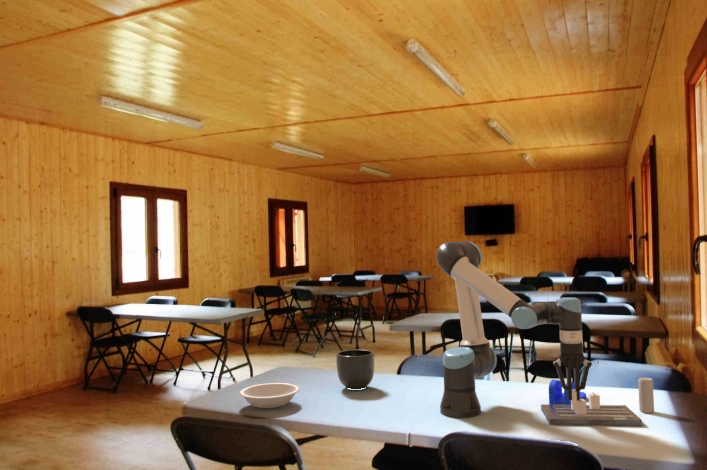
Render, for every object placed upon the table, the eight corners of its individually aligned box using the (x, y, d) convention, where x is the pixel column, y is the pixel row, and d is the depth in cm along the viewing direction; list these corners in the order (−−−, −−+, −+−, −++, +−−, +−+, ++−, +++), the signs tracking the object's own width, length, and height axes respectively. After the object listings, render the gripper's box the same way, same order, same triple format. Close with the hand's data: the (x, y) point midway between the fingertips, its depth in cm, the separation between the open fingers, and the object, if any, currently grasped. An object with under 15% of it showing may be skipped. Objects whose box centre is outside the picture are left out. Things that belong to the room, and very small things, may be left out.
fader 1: (577, 415, 200) (576, 400, 200) (575, 413, 203) (574, 398, 203) (586, 415, 199) (585, 401, 199) (584, 413, 202) (583, 398, 203)
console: (549, 424, 198) (549, 417, 198) (541, 409, 216) (540, 402, 216) (642, 426, 193) (642, 418, 193) (625, 410, 211) (625, 403, 211)
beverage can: (648, 414, 206) (647, 381, 206) (636, 411, 210) (635, 378, 210) (657, 412, 208) (655, 379, 208) (645, 409, 212) (643, 376, 212)
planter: (375, 393, 248) (374, 356, 248) (336, 394, 248) (335, 357, 249) (375, 383, 265) (373, 348, 266) (337, 384, 266) (336, 349, 266)
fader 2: (591, 409, 207) (590, 395, 207) (589, 407, 210) (588, 392, 210) (600, 409, 206) (599, 395, 206) (597, 407, 209) (597, 392, 209)
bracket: (569, 408, 217) (569, 384, 217) (549, 404, 223) (548, 381, 223) (590, 398, 230) (589, 375, 230) (569, 394, 236) (569, 373, 236)
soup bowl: (228, 408, 232) (227, 391, 233) (274, 395, 250) (274, 380, 250) (265, 418, 216) (264, 401, 216) (312, 404, 234) (311, 388, 234)
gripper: (553, 343, 199) (556, 412, 199) (593, 343, 197) (596, 412, 197) (550, 340, 207) (553, 406, 206) (588, 339, 205) (591, 406, 204)
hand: (574, 409), depth 201 cm, fingers closed
